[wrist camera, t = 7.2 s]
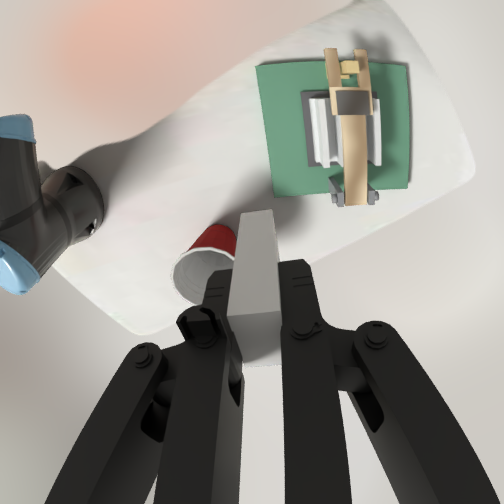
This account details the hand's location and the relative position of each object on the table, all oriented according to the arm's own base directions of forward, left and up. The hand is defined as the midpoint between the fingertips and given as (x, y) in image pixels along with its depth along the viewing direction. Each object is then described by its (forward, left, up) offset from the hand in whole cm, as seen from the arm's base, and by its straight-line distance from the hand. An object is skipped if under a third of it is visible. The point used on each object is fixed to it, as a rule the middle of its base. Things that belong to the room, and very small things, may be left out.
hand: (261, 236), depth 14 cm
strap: (+11, +2, -22) cm, 25 cm away
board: (+11, +1, -29) cm, 31 cm away
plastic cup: (-10, -16, -29) cm, 35 cm away
